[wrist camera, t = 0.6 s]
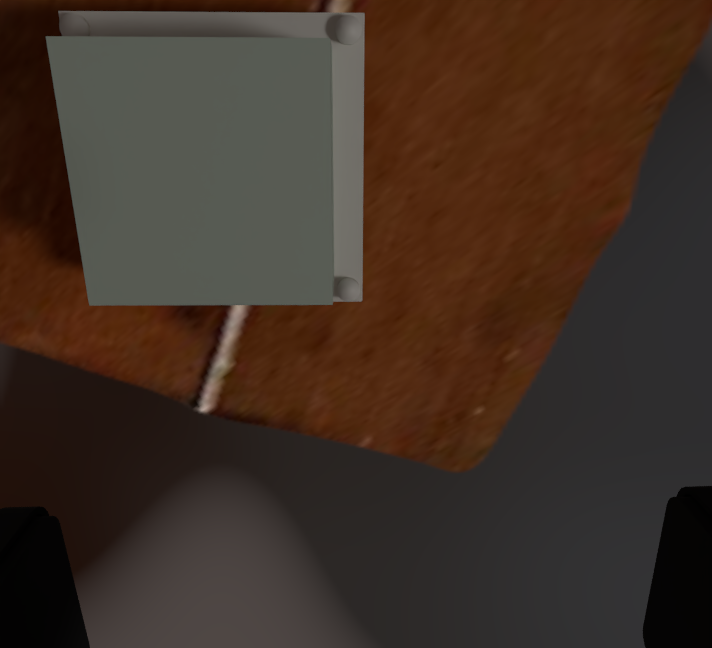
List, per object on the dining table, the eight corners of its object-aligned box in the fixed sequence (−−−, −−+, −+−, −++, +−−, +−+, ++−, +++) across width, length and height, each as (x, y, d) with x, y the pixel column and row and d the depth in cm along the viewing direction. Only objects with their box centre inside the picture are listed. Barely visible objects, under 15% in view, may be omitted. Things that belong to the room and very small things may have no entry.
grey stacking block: (100, 24, 32) (-2, -9, 22) (361, 25, 32) (368, -6, 23) (133, 276, 37) (61, 336, 27) (360, 276, 37) (365, 335, 28)
